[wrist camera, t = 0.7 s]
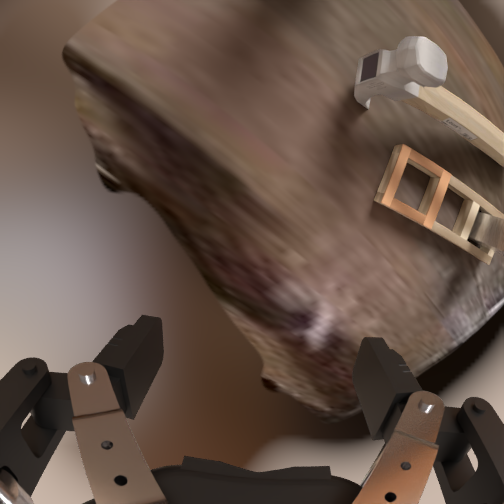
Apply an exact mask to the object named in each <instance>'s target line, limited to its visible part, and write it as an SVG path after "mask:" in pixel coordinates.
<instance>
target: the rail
mask: <svg viewBox="0 0 504 504" xmlns="http://www.w3.org/2000/svg"><path fill="white" fill-rule="evenodd" d="M406 163H409V164H410V165H412V166H414V167H415V168H417V169H419V170H420V171H422V172H424V173H425V174H427V175H429V176H430V180H429V183H428V186H427V188H426V191H425V194H424V196H423V199H422V201H421V204H420V207H419V209H418V211H417V210H415V209H413V208H411V207H410V206H408V205H406V204H404V203H402V202H400V201H399V200H397V199H395V198H393V197H394V195H395V192H396V190H397V187H398V185H399V182H400V179H401V177H402V174H403V171H404V169H405V166H406ZM447 188H449V189H450V190H452V191H453V192H455V193H456V194H458V195H459V196H461V197H462V198H464V201H463V203H462V206H461V209H460V212H459V214H458V217H457V219H456V222H455V225H454V227H453V230H452V231H451V230H449V229H447V228H446V227H444V226H442V225H441V224H439V223H437V222H436V221H435V219H436V216H437V214H438V211H439V209H440V206H441V203H442V201H443V198H444V195H445V193H446V190H447ZM374 201H376V202H378V203H380V204H382V205H384V206H386V207H387V208H389V209H391V210H393V211H395V212H397V213H399V214H401V215H403V216H405V217H407V218H409V219H410V220H412V221H414V222H416V223H418V224H420V225H421V226H423V227H425V228H427V229H429V230H430V231H432V232H434V233H436V234H437V235H439V236H441V237H443V238H444V239H446V240H448V241H450V242H451V243H453V244H455V245H456V246H458V247H460V248H461V249H463V250H464V251H466V252H468V253H469V254H471V255H473V256H474V257H476V258H477V259H479V260H481V261H483V262H484V263H486V264H488V265H489V264H490V261H491V259H492V257H493V254H494V251H492V250H490V249H488V248H485V247H483V246H480V249H479V248H477V247H476V246H474V245H473V244H471V243H470V242H468V241H467V239H468V236H469V234H470V231H471V229H472V226H473V224H474V221H475V218H476V216H477V213H478V210H480V211H481V212H483V213H485V214H488V215H492V216H495V217H499V218H502V219H504V215H503V214H502V213H501V212H500V211H499V210H497V209H496V208H495V207H494V206H492V205H491V204H490V203H489V202H487V201H486V200H485V199H484V198H482V197H481V196H480V195H478V194H477V193H476V192H474V191H473V190H472V189H470V188H469V187H468V186H466V185H465V184H464V183H462V182H461V181H459V180H458V179H456V178H455V177H454V176H452V174H450V173H449V172H447V171H446V170H444V169H443V168H441V167H440V166H438V165H437V164H435V163H434V162H432V161H431V160H429V159H427V158H426V157H424V156H423V155H421V154H419V153H418V152H416V151H414V150H413V149H411V148H409V147H408V146H406V145H404V144H401V145H395V146H394V149H393V151H392V154H391V157H390V160H389V162H388V165H387V168H386V170H385V173H384V175H383V178H382V181H381V183H380V186H379V188H378V191H377V193H376V196H375V198H374Z"/></svg>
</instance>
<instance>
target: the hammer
mask: <svg viewBox="0 0 504 504" xmlns="http://www.w3.org/2000/svg"><path fill="white" fill-rule="evenodd" d="M447 70H448V66H447V59H446V55H445V53H444V52H443V51H442V50H441V49H440V48H439V46H438V45H436V44H435V43H433V42H432V41H431V40H429V39H428V38H426V37H419V36H410V37H405V38H404V39H403V40H402V41H401V42H400V43H399V45H398V48H397V50H393V51H388V50H383V49H378V50H376V51H373V52H371V53H369V54H367V55H365V56H363V57H361V58H359V62H358V69H357V75H356V82H355V91H354V97H355V98H356V100H357V102H359V103H360V104H361V105H363V106H364V107H365V108H367V109H369V105H370V98H371V97H373V96H375V95H383V96H385V97H387V98H390V99H392V100H394V101H399V100H401V101H403V102H405V103H407V104H409V105H411V106H413V107H415V108H417V109H419V110H421V111H423V112H425V113H426V114H428V115H430V116H431V117H433V118H434V119H436V120H438V121H439V122H441V123H443V124H444V125H446V126H447V127H449V128H450V129H452V130H453V131H455V132H456V133H457V134H459V135H460V136H462V137H463V138H464V139H466V140H467V141H469V142H470V143H471V144H473V145H474V146H476V147H477V148H479V149H480V150H481V151H483V152H484V153H486V154H487V155H488V156H490V157H491V158H492V159H494V160H495V161H496V162H497V163H499V164H500V165H501V166H502V167H504V133H503V132H502V131H500V130H499V129H498V128H497V127H496V126H495V125H493V124H492V123H491V122H490V121H489V120H487V119H486V118H485V117H484V116H482V115H481V114H480V113H479V112H477V111H476V110H475V109H474V108H472V107H471V106H470V105H468V104H467V103H465V102H464V101H462V100H461V99H460V98H458V97H457V96H455V95H454V94H452V93H451V92H449V91H448V90H446V89H445V88H443V87H442V86H441V85H442V84H443V83H444V82H445V79H446V75H447Z"/></svg>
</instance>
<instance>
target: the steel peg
mask: <svg viewBox="0 0 504 504" xmlns="http://www.w3.org/2000/svg"><path fill="white" fill-rule="evenodd" d="M468 238H469V239H471V240H472V241H474V242H475V243H477V244H479V245H481V246H483V247H485V248H488V249H490V250H492V251H494V252H497V253H499V254H501V255H503V256H504V219H502V218H499V217H495V216H492V215H488V214H485V213H481V212H478V213H477V216H476V218H475V221H474V224H473V226H472V229H471V231H470V234H469V236H468Z"/></svg>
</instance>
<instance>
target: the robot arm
mask: <svg viewBox="0 0 504 504" xmlns="http://www.w3.org/2000/svg"><path fill="white" fill-rule="evenodd" d="M163 353H164V350H163V332H162V320H161V318H159V317H152V316H146V315H142V316H141V317H140V318H139V319H138V320H137V322H136V323H135V324H134V325H127V326H125V327H123V328H122V329H120V330H118V332H117V333H116V334H115V335H114V336H113V338H112V339H111V340H110V341H109V343H108V344H107V345H106V346H105V347H104V348H103V350H102V351H101V352H100V353H99V354H98V356H97V357H96V358H95V359H94V360H93V362H83V363H79V364H77V365H75V366H73V367H72V368H71V369H70V370H69V372H68V373H56V372H49V370H48V367H47V364H46V363H45V362H44V361H43V360H41V359H39V358H26V359H23V360H21V361H19V362H18V363H17V364H15V366H14V367H13V368H12V369H11V370H10V371H9V372H8V373H7V374H6V375H5V376H4V377H3V378H2V379H1V380H0V504H34V503H33V500H32V499H31V495H32V493H33V491H34V489H35V487H36V485H37V483H38V481H39V479H40V477H41V476H42V474H43V472H44V470H45V468H46V466H47V464H48V462H49V461H50V459H51V457H52V455H53V453H54V451H55V450H56V448H57V446H58V444H59V442H60V441H61V439H62V437H63V435H64V434H65V432H66V431H75V435H76V439H77V443H78V447H79V451H80V455H81V458H82V462H83V465H84V468H85V472H86V475H87V478H88V481H89V484H90V487H91V490H92V493H93V496H94V499H92V500H89V501H87V502H85V503H83V504H418V503H419V500H420V498H421V496H422V493H423V491H424V488H425V486H426V483H427V480H428V478H429V475H430V472H431V470H432V467H434V470H435V473H436V476H437V478H438V481H439V484H440V487H441V490H442V493H443V496H444V499H445V502H446V504H504V424H503V423H502V421H501V419H500V418H499V416H498V415H497V413H496V412H495V410H494V409H493V407H492V406H491V405H490V404H489V403H488V402H487V401H485V400H484V399H481V398H478V397H470V398H468V399H466V400H465V402H464V403H463V405H462V407H461V408H455V407H446V406H444V403H443V401H442V400H441V399H440V398H439V397H438V396H437V395H435V394H433V393H430V392H427V391H423V390H422V389H421V387H420V385H419V384H418V382H417V380H416V379H415V377H414V375H413V374H412V372H410V369H409V367H408V366H406V363H405V361H404V359H403V358H402V356H401V355H399V354H398V353H397V352H395V351H394V350H393V349H389V347H388V346H387V344H386V342H385V341H384V339H383V338H378V337H365V338H364V339H363V340H362V342H361V346H360V349H359V352H358V356H357V359H356V362H355V365H354V369H353V376H352V377H353V384H354V387H355V390H356V392H357V395H358V398H359V401H360V404H361V407H362V410H363V413H364V415H365V418H366V421H367V425H368V428H369V431H370V433H371V437H372V440H380V439H384V441H385V444H384V446H383V447H382V449H381V451H380V453H379V454H378V456H377V458H376V459H375V461H374V463H373V465H372V466H371V468H370V470H369V471H368V473H367V474H366V476H365V478H364V479H363V481H362V482H361V484H360V485H358V484H356V483H354V482H352V481H350V480H347V479H344V478H341V477H337V476H332V475H331V472H330V467H329V466H318V467H317V466H315V467H291V468H285V469H280V470H273V471H267V472H253V471H249V470H246V469H243V468H239V467H236V466H233V465H230V464H226V463H223V462H220V461H213V460H207V459H200V458H194V457H188V456H184V459H183V463H182V465H171V466H164V467H159V468H156V469H152V470H150V469H149V467H148V465H147V463H146V461H145V459H144V457H143V455H142V453H141V451H140V449H139V446H138V444H137V442H136V440H135V438H134V435H133V433H132V431H131V429H130V426H129V424H128V422H127V419H126V418H130V419H134V418H135V416H136V414H137V412H138V410H139V408H140V406H141V404H142V402H143V399H144V398H145V396H146V394H147V392H148V390H149V388H150V386H151V384H152V382H153V380H154V378H155V376H156V374H157V372H158V370H159V368H160V366H161V364H162V360H163ZM29 413H31V416H30V418H29V419H28V420H27V422H26V423H25V425H24V426H23V428H22V429H21V425H22V422H23V421H24V419H25V418H26V417H27V415H28V414H29ZM471 448H472V449H473V451H474V453H475V455H476V457H477V459H478V468H477V470H476V472H475V470H474V468H473V466H472V464H471V462H470V459H469V457H468V455H467V453H468V452H469V450H470V449H471Z"/></svg>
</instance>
